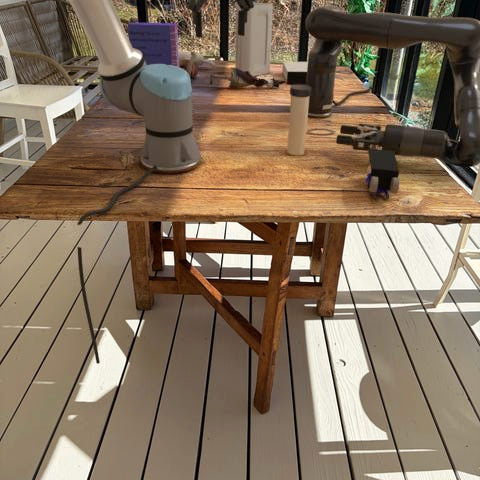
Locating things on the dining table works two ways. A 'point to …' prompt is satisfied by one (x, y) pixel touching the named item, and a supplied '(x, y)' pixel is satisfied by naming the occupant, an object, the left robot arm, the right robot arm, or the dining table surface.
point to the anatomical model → (189, 65)
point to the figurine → (246, 79)
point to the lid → (300, 90)
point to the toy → (198, 60)
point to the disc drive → (295, 72)
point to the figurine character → (382, 172)
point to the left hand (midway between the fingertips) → (220, 36)
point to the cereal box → (155, 42)
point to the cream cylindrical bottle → (297, 125)
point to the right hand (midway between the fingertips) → (338, 134)
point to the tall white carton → (255, 40)
